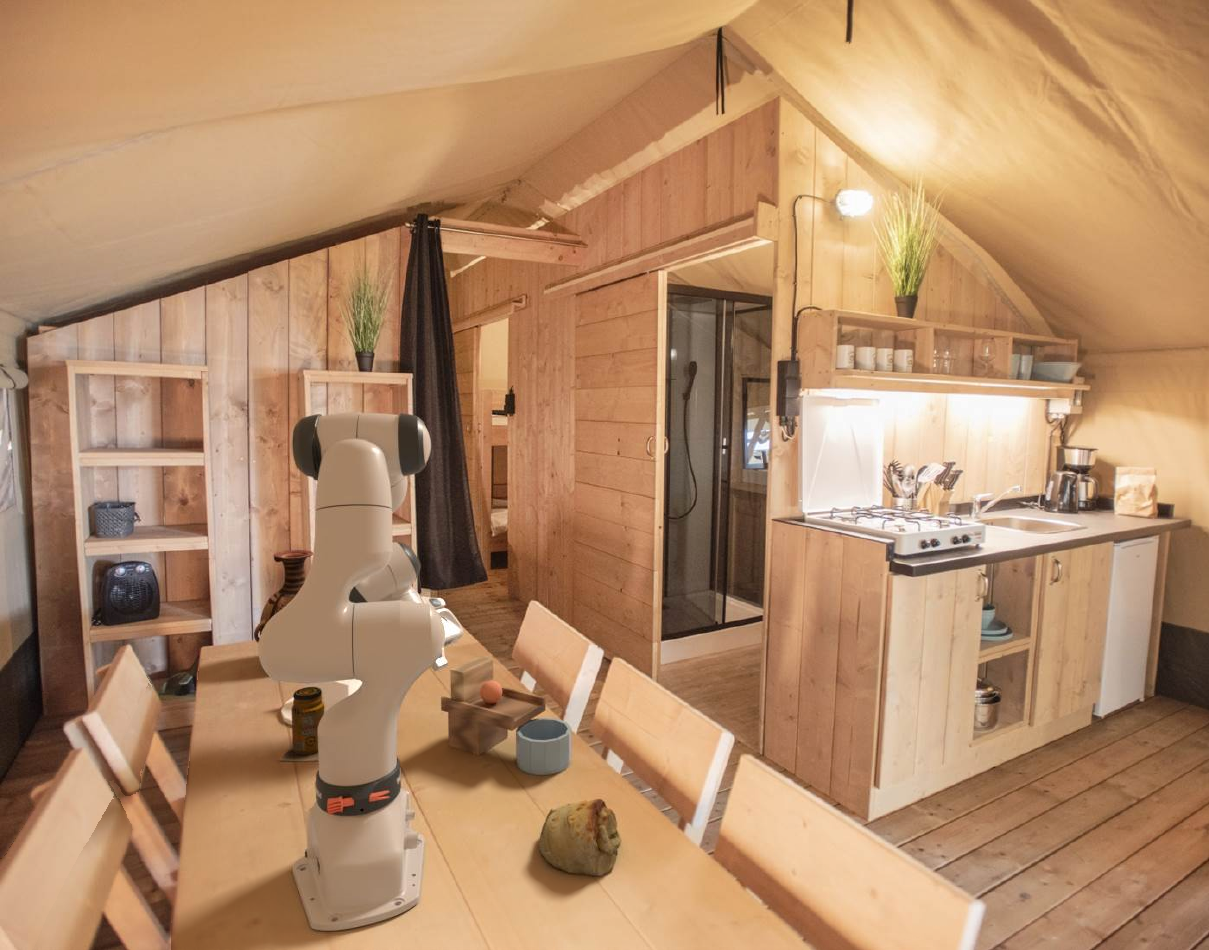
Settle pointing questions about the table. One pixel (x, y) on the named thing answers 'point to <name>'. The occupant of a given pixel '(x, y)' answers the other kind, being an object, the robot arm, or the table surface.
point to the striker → (470, 679)
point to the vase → (285, 585)
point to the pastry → (581, 838)
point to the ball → (491, 692)
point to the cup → (543, 746)
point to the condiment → (305, 724)
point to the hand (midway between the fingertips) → (441, 668)
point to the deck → (489, 719)
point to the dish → (325, 695)
